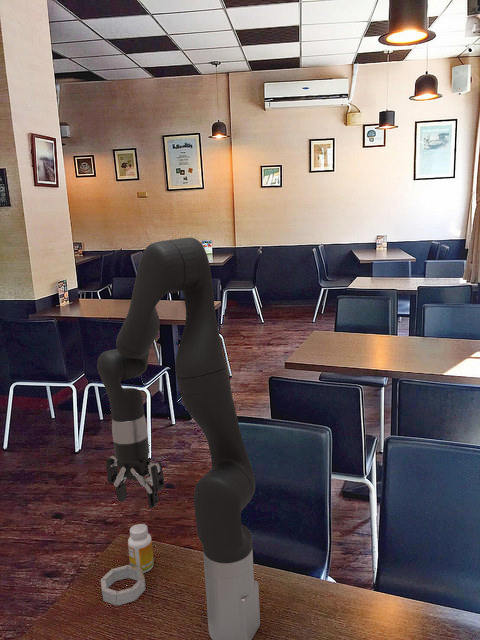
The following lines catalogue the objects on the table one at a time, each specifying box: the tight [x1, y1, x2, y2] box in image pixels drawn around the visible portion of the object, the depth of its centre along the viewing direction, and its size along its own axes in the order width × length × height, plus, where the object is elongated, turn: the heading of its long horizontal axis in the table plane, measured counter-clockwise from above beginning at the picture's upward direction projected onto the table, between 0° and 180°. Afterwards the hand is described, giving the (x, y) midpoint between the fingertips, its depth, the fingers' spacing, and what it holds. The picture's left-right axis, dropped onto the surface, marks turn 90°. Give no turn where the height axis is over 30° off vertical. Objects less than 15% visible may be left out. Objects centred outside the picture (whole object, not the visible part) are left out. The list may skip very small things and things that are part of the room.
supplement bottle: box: [127, 523, 155, 574], centre depth 118 cm, size 5×5×10 cm
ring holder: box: [100, 564, 146, 607], centre depth 111 cm, size 9×9×2 cm
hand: (137, 503), depth 116 cm, fingers open, 8 cm apart
